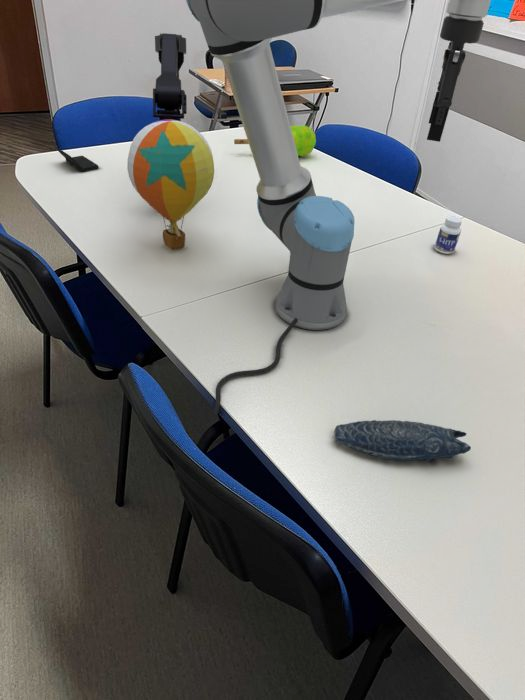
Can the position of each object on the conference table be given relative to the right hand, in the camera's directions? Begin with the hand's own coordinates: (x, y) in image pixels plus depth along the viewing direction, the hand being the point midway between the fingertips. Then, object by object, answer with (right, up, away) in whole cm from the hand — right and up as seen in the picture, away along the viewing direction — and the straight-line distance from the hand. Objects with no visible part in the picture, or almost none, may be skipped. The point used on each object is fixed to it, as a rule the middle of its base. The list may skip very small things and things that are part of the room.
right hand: (433, 131), depth 113 cm
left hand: (-63, -4, +32) cm, 71 cm away
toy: (-60, -22, +17) cm, 66 cm away
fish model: (-16, -64, -30) cm, 72 cm away
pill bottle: (+12, -21, +27) cm, 36 cm away
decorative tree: (-33, +23, +77) cm, 87 cm away
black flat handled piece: (-97, +12, +55) cm, 112 cm away
